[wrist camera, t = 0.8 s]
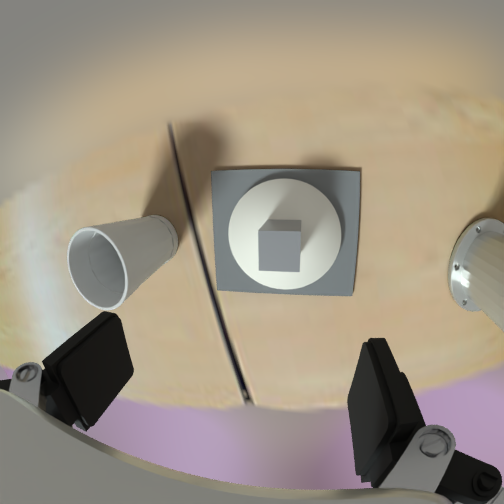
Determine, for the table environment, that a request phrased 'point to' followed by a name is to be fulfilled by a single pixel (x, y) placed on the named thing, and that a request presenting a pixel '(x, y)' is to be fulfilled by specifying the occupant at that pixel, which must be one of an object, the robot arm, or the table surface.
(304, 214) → the lid
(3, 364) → the table surface
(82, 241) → the cup
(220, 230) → the mat
